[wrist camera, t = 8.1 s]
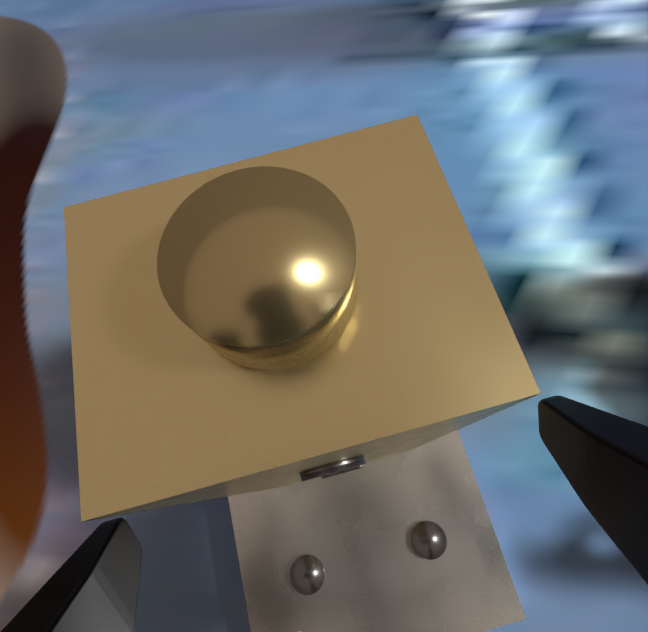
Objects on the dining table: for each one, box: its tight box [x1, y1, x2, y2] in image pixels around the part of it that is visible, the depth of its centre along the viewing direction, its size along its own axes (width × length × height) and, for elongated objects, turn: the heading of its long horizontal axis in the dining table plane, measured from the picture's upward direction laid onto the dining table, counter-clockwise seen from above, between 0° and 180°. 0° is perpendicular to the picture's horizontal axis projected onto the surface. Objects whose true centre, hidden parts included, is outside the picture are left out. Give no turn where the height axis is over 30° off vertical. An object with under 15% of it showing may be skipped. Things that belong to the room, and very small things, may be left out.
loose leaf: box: [64, 115, 540, 522], centre depth 11 cm, size 4×5×14 cm
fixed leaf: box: [228, 430, 526, 632], centre depth 14 cm, size 12×9×8 cm
